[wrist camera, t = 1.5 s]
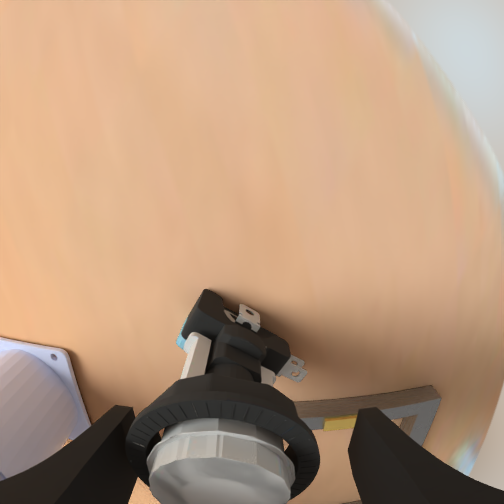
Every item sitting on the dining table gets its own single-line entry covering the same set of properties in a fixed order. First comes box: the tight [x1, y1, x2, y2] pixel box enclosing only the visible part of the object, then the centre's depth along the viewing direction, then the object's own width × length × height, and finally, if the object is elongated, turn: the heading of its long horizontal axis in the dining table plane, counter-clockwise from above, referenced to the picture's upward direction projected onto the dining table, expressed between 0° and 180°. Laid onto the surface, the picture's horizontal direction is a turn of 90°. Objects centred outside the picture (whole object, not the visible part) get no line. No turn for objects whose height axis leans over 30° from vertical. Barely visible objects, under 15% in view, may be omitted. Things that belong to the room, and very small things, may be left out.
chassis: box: [294, 385, 441, 504], centre depth 18 cm, size 13×14×2 cm
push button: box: [125, 289, 320, 504], centre depth 11 cm, size 7×5×10 cm
